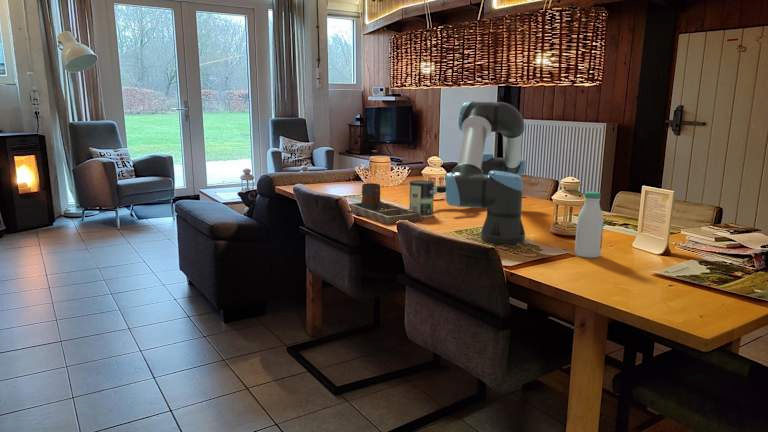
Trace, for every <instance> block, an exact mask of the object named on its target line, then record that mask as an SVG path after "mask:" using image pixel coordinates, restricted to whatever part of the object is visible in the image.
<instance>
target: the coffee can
mask: <svg viewBox="0 0 768 432" xmlns="http://www.w3.org/2000/svg"><path fill="white" fill-rule="evenodd" d="M434 186H435V181H432V180H420V179H419V180H410V181H409V205H408V206H409V207H408V209H409V210H412V211H415V212H419V213H422V214H421V218H431V217H434V198H435V197H434V195H435V194H434Z"/></svg>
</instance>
